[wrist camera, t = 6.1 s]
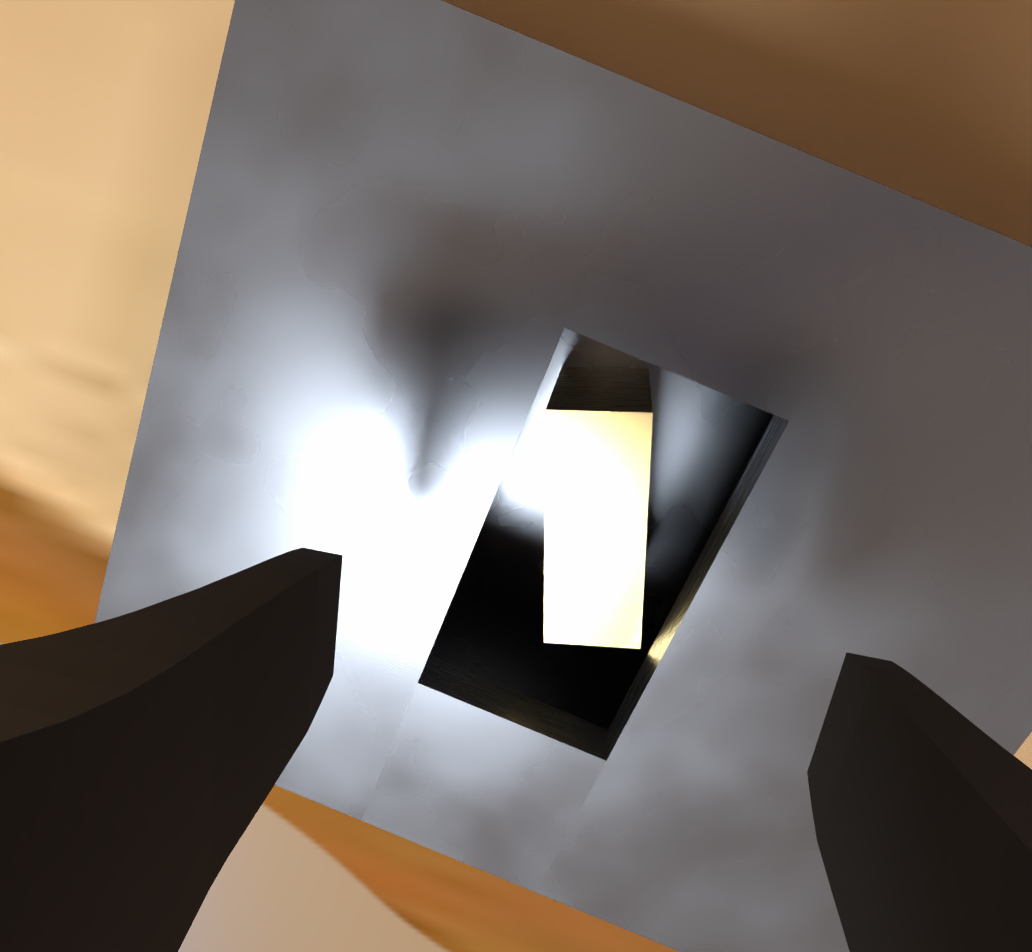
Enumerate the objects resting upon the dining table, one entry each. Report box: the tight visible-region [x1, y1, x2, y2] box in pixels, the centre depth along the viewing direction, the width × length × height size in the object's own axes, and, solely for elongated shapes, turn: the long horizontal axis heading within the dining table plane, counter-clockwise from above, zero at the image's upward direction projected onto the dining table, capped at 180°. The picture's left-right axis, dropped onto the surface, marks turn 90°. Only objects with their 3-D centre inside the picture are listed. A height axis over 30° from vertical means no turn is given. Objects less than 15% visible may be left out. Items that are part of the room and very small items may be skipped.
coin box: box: [95, 0, 1032, 952], centre depth 18 cm, size 17×15×6 cm
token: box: [544, 367, 653, 649], centre depth 18 cm, size 2×5×4 cm, turn 0°
